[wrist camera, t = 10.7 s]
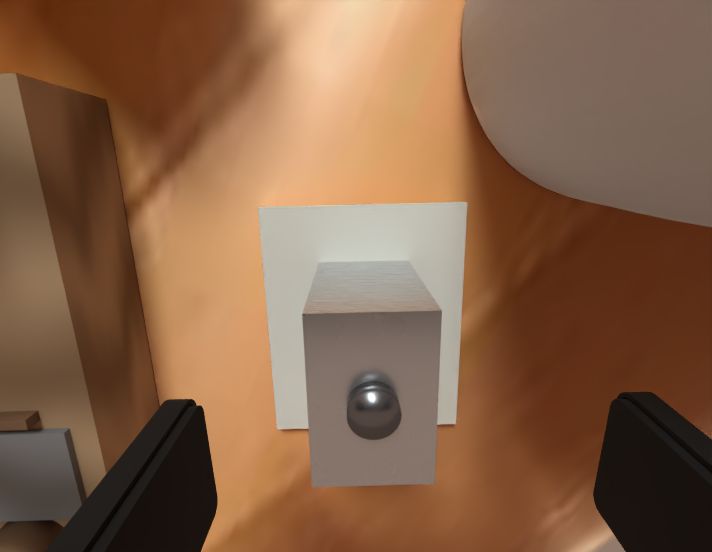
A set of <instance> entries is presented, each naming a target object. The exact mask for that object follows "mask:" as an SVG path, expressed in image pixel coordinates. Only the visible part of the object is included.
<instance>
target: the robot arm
mask: <svg viewBox="0 0 712 552" xmlns="http://www.w3.org/2000/svg"><path fill="white" fill-rule="evenodd" d="M593 496H594V502H595V505H596V507H597V509H598V511H599V513H600V514H601V516H602V517H603V519H604V520H605V522H606V523H607V525H608V526H609V528H610V529H611V531H612V532H613V533H614V535H615V536H616V538H617V539H618V541H619V542H620V544H621V545H622V547H623V548H624V550H625V551H626V552H712V440H711V439H710V438H709V437H708V436H706V435H705V434H704V433H703V432H701V431H700V430H699V429H698V428H696V427H695V426H694V425H693V424H691V423H690V422H689V421H688V420H686V419H685V418H684V417H683V416H681V415H680V414H679V413H678V412H676V411H675V410H674V409H673V408H671V407H670V406H669V405H668V404H666V403H665V402H664V401H663V400H661V399H660V398H659V397H658V396H656V395H655V394H653V393H651V392H623V393H620V394H619V396H618V397H617V399H615V400H613V401H612V402H611V405H610V410H609V415H608V420H607V425H606V431H605V436H604V441H603V446H602V451H601V456H600V461H599V466H598V471H597V477H596V482H595V487H594V493H593ZM216 509H217V492H216V485H215V479H214V473H213V467H212V460H211V454H210V448H209V441H208V435H207V429H206V422H205V416H204V411H203V408H202V406H196V403H195V401H194V400H192V399H174V400H166V401H165V402H164V403H163V404H162V405H161V406H160V408H159V409H158V410H157V411H156V413H155V414H154V415H153V416H152V418H151V419H150V420H149V421H148V423H147V424H146V425H145V426H144V428H143V429H142V430H141V432H140V433H139V434H138V435H137V437H136V438H135V439H134V440H133V442H132V443H131V444H130V445H129V447H128V448H127V449H126V450H125V452H124V453H123V454H122V456H121V457H120V458H119V459H118V461H117V462H116V463H115V464H114V466H113V467H112V468H111V469H110V470H109V471H108V473H107V474H106V475H105V476H104V478H103V479H102V480H101V481H100V483H99V484H98V485H97V487H96V488H95V489H94V490H93V492H92V493H91V494H90V495H89V497H88V498H87V499H86V500H85V502H84V503H83V504H82V505H81V507H80V508H79V509H78V510H77V512H76V513H75V514H74V516H73V517H72V518H71V519H70V521H69V522H68V523H67V524H66V526H65V527H64V528H63V529H62V531H61V532H60V533H59V534H58V536H57V537H56V538H55V539H54V541H53V542H52V543H51V545H50V546H49V547H48V548H47V550H46V551H45V552H201V549H202V547H203V544H204V542H205V539H206V537H207V534H208V532H209V529H210V527H211V524H212V522H213V519H214V517H215V514H216Z"/></svg>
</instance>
